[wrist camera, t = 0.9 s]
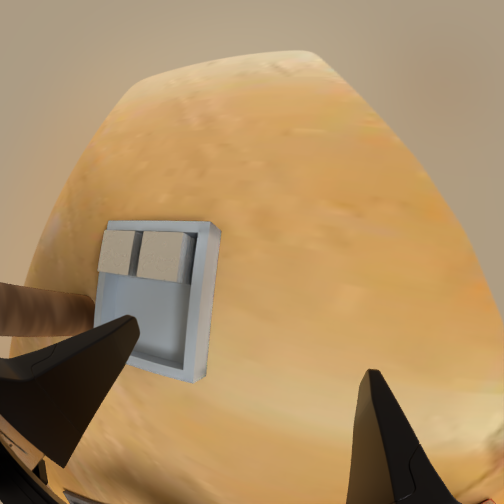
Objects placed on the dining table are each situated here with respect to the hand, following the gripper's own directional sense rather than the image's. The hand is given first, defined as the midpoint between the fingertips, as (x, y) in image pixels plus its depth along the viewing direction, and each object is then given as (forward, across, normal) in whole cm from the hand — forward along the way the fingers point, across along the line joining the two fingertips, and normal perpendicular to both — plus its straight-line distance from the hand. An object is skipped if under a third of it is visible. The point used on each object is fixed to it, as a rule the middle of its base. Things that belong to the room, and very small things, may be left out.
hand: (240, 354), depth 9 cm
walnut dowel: (+9, +23, +12) cm, 28 cm away
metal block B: (+13, +15, +5) cm, 21 cm away
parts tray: (+12, +13, +8) cm, 19 cm away
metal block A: (+13, +10, +5) cm, 18 cm away
